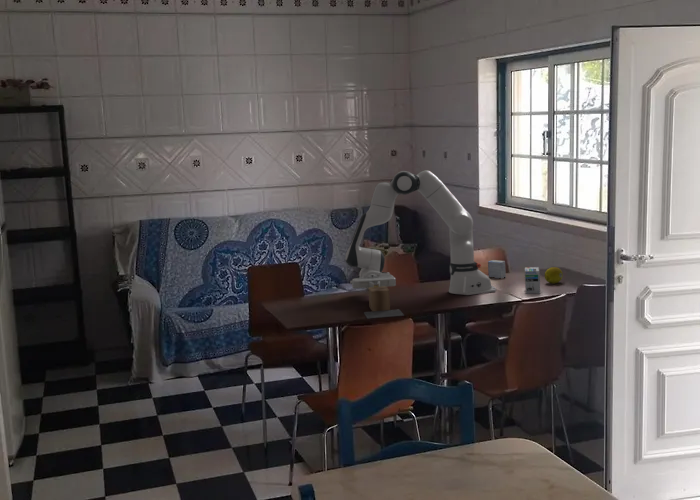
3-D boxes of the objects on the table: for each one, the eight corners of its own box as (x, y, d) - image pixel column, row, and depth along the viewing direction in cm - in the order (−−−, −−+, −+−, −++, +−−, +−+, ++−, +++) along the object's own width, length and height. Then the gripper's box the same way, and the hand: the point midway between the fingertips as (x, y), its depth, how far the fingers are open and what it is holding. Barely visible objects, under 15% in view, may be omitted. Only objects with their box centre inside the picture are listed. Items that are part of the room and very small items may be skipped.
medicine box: (505, 277, 402) (505, 261, 401) (501, 279, 399) (500, 262, 398) (493, 276, 408) (492, 259, 406) (488, 277, 405) (487, 261, 403)
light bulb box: (540, 293, 360) (539, 270, 358) (525, 294, 361) (524, 271, 360) (539, 289, 370) (539, 266, 369) (525, 289, 372) (524, 267, 370)
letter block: (385, 286, 352) (389, 290, 343) (386, 305, 354) (390, 310, 345) (368, 287, 351) (371, 291, 343) (369, 307, 353) (372, 311, 344)
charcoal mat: (399, 309, 345) (399, 309, 345) (404, 315, 333) (404, 315, 333) (363, 312, 343) (363, 312, 343) (367, 318, 331) (367, 318, 331)
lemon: (551, 286, 375) (551, 269, 374) (540, 283, 382) (539, 267, 381) (568, 282, 380) (568, 266, 379) (556, 280, 387) (556, 264, 386)
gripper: (349, 274, 365) (352, 280, 351) (392, 272, 367) (397, 277, 354) (349, 288, 366) (353, 293, 352) (392, 285, 368) (398, 291, 354)
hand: (376, 285), depth 353 cm, fingers closed
